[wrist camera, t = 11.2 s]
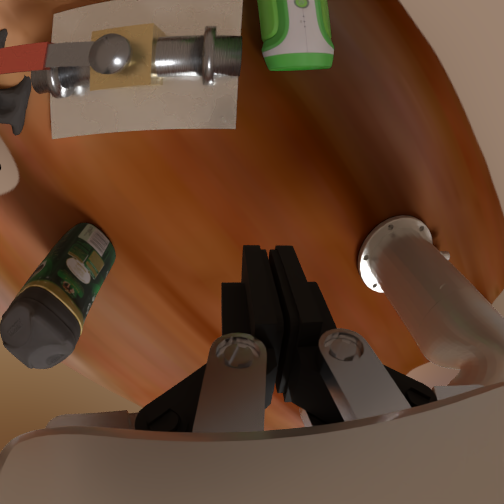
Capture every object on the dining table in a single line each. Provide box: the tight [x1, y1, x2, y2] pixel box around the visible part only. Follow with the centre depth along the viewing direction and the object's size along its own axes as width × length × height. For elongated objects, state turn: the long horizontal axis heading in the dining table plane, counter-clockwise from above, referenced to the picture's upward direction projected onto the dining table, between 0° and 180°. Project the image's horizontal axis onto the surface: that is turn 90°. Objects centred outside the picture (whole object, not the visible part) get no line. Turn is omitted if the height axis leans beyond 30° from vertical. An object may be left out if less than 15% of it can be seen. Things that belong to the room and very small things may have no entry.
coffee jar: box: [0, 223, 116, 369], centre depth 31 cm, size 10×8×19 cm
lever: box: [0, 33, 133, 74], centre depth 20 cm, size 14×4×3 cm, turn 78°
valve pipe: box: [31, 0, 243, 139], centre depth 26 cm, size 23×16×7 cm
